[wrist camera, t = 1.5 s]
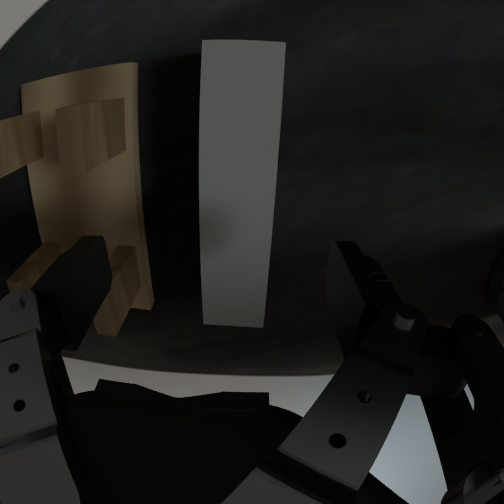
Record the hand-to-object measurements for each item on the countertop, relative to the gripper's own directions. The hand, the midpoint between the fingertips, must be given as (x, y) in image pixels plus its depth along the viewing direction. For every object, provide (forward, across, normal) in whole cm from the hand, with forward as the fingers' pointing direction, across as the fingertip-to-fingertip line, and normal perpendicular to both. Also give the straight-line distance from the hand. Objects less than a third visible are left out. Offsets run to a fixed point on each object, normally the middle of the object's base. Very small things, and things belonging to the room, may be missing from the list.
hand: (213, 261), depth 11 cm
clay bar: (+9, -1, 0) cm, 9 cm away
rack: (+9, +9, 0) cm, 13 cm away
